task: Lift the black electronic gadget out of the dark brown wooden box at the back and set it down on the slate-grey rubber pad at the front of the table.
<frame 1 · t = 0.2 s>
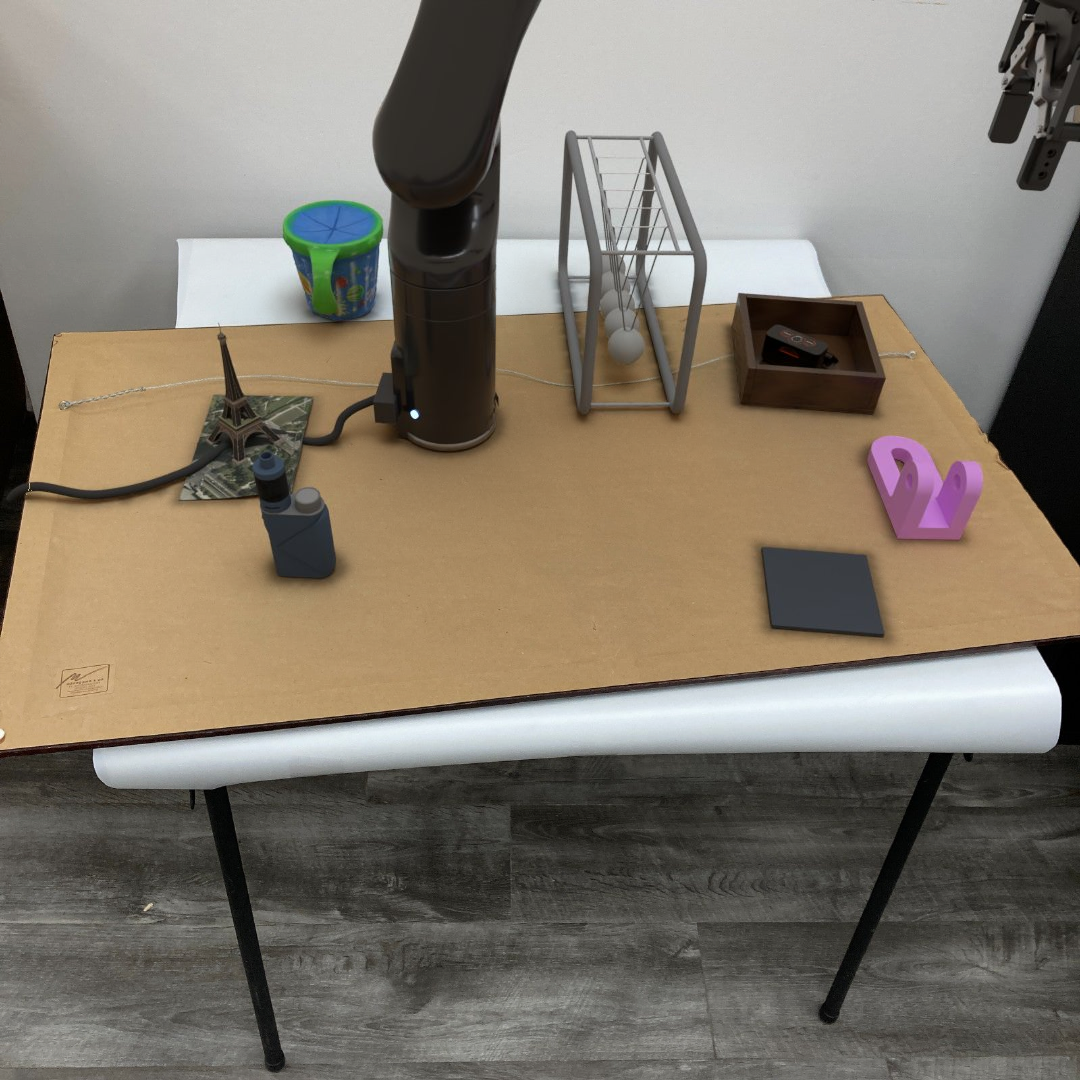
hand: (1015, 164, 75), 29 cm above the table, tool pointing down, fingers open, 8 cm apart
bracket: (907, 492, 92), on the table
vaping device: (305, 569, 82), on the table
wooden box: (798, 369, 105), on the table
black electronic gadget: (799, 366, 105), resting on wooden box
snack cup: (342, 307, 111), on the table
pad: (819, 591, 82), on the table
newton's cradle: (613, 341, 108), on the table
eiffel tower figurine: (250, 448, 93), on the table
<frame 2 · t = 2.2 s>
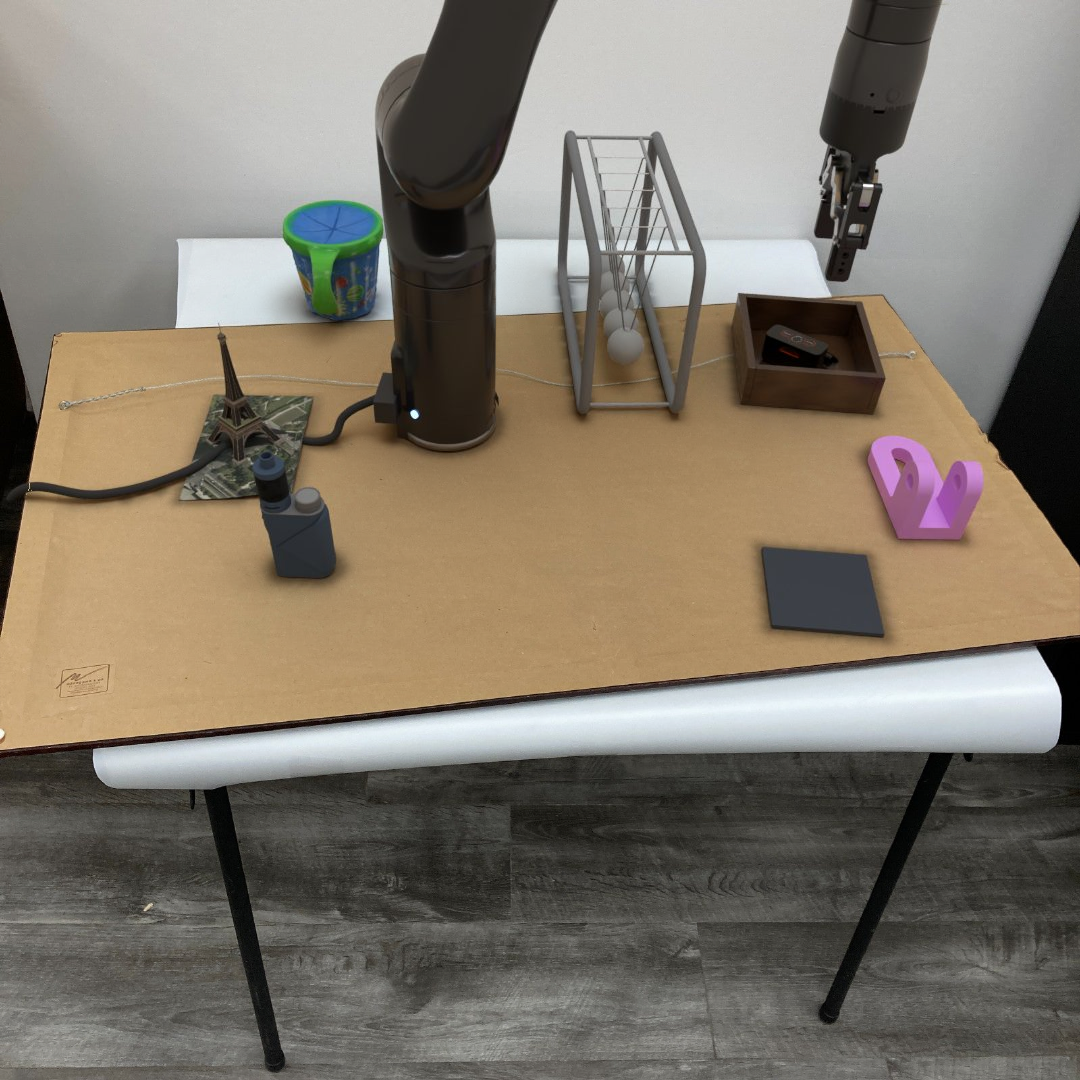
hand: (829, 257, 96), 13 cm above the table, tool pointing down, fingers open, 8 cm apart
nothing on the table moved.
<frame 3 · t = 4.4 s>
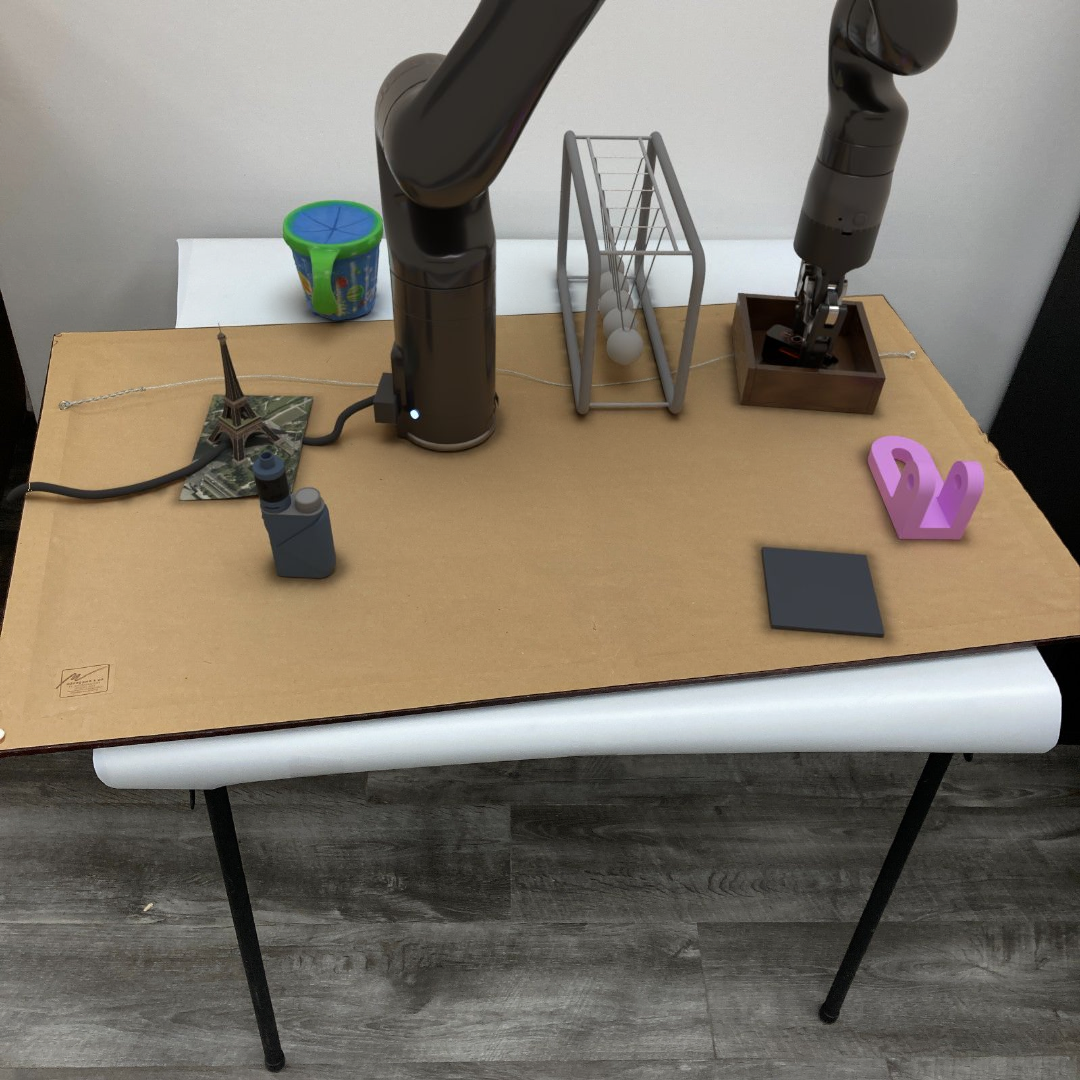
hand: (802, 360, 104), 1 cm above the table, tool pointing down, fingers closed on black electronic gadget, 5 cm apart
black electronic gadget: (799, 366, 105), resting on wooden box, touching gripper
everything else where it was.
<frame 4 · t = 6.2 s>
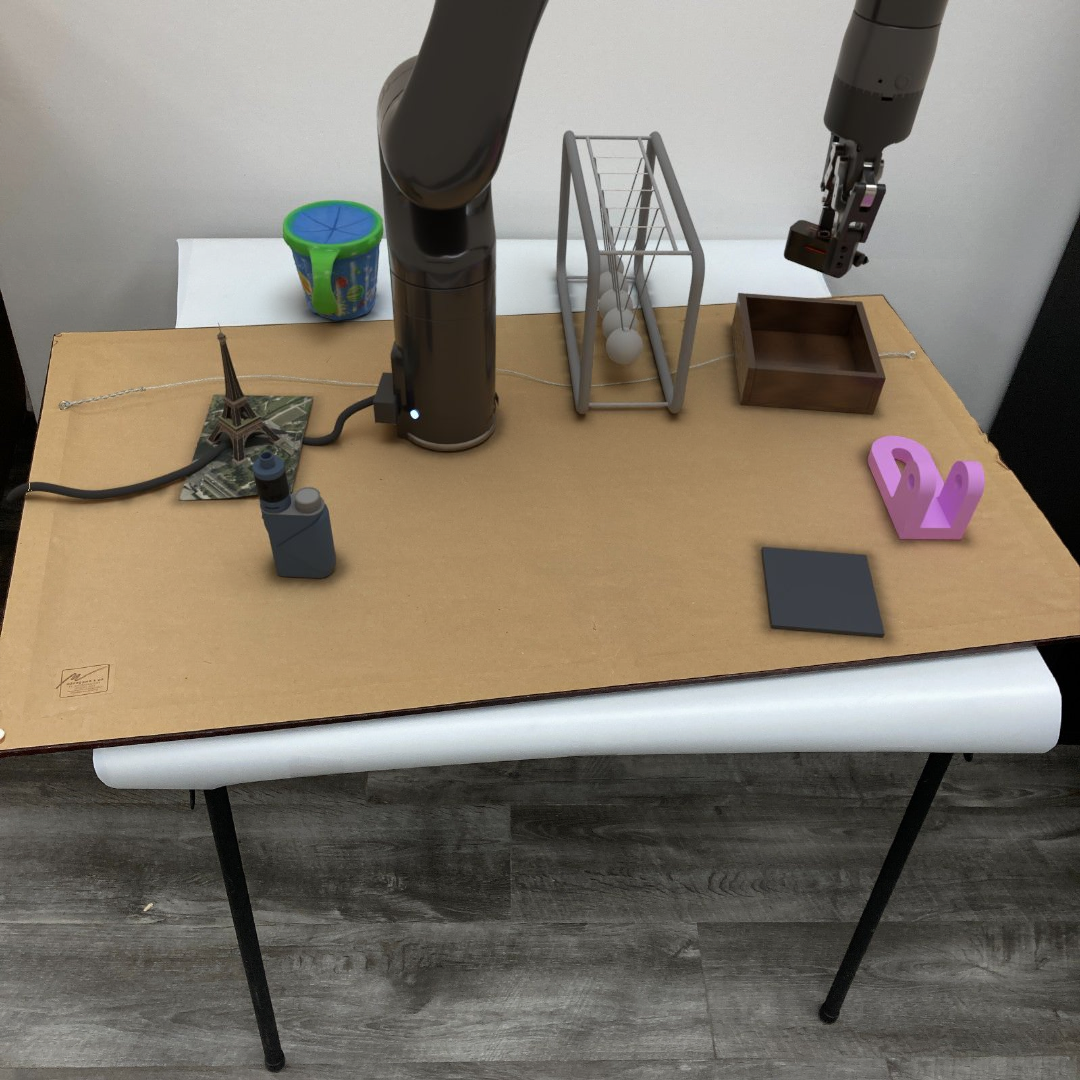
hand: (829, 258, 94), 14 cm above the table, tool pointing down, fingers closed on black electronic gadget, 5 cm apart
black electronic gadget: (825, 267, 95), point 13 cm above the table, touching gripper
everything else where it was.
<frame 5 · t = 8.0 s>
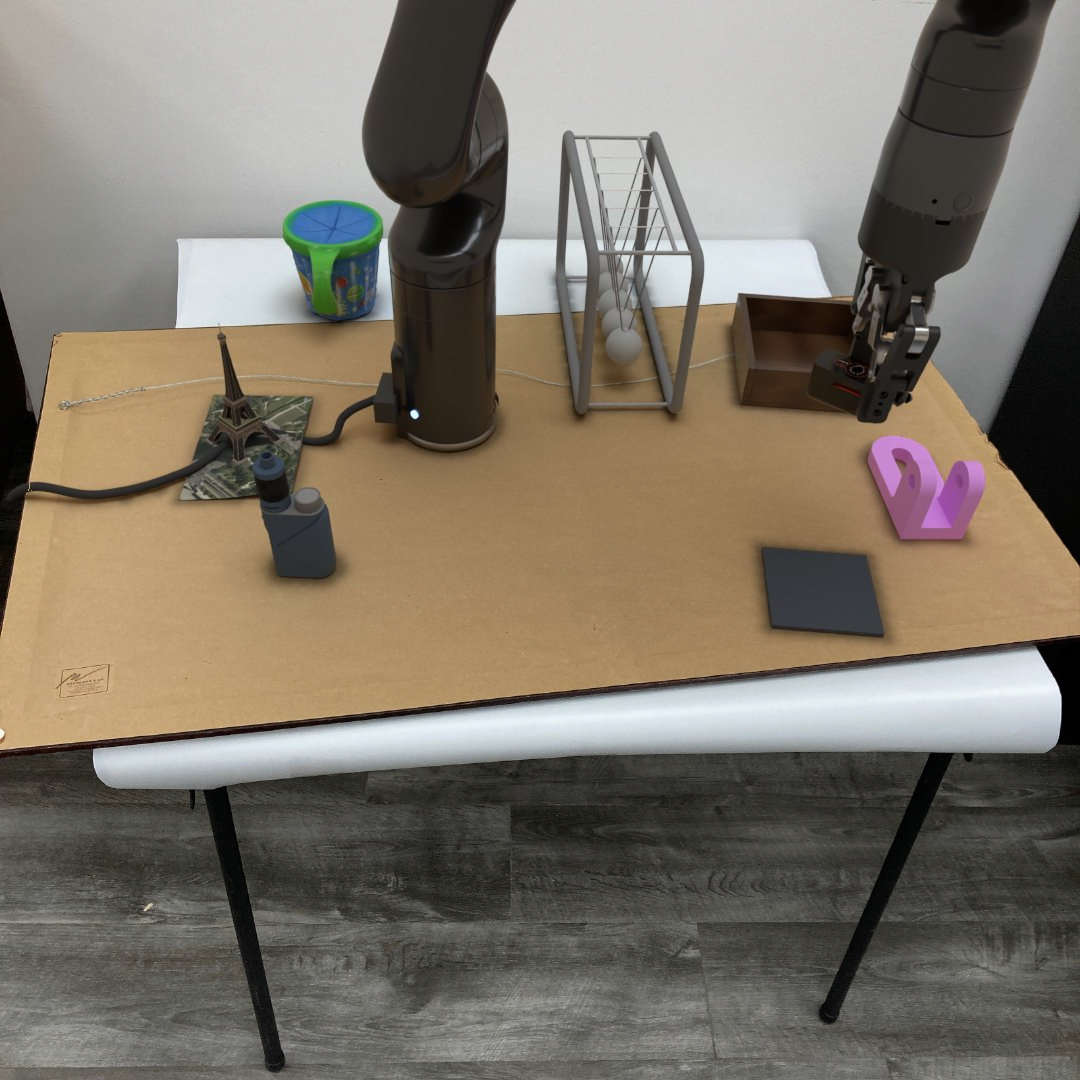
hand: (863, 397, 75), 15 cm above the table, tool pointing down, fingers closed on black electronic gadget, 5 cm apart
black electronic gadget: (858, 406, 77), point 14 cm above the table, touching gripper
everything else where it was.
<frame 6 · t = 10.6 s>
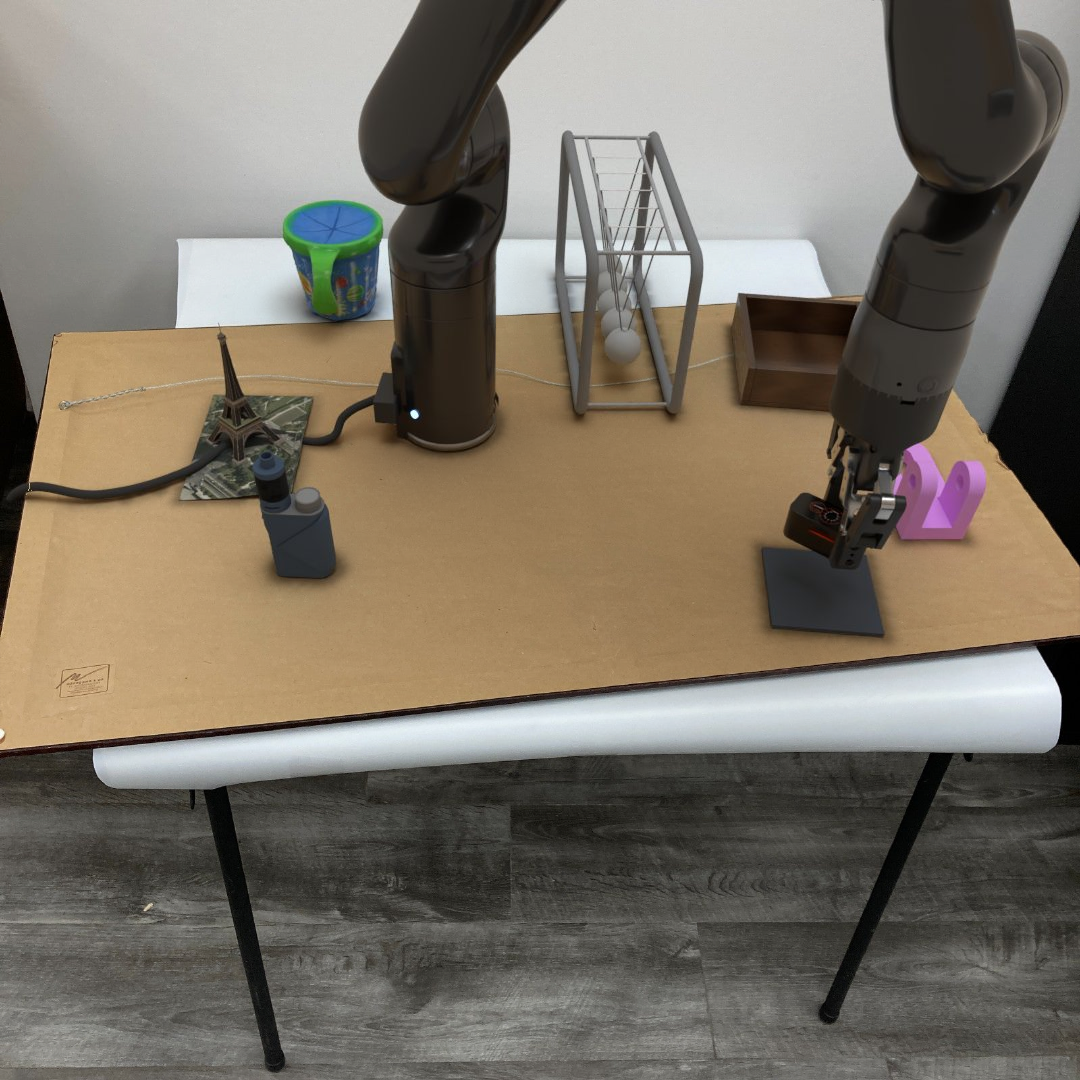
hand: (837, 540, 78), 6 cm above the table, tool pointing down, fingers closed on black electronic gadget, 5 cm apart
black electronic gadget: (834, 546, 79), point 5 cm above the table, touching gripper
everything else where it was.
when the fingers open (1 cm above the table, at t = 12.1 s): black electronic gadget stays where it is, resting on pad.
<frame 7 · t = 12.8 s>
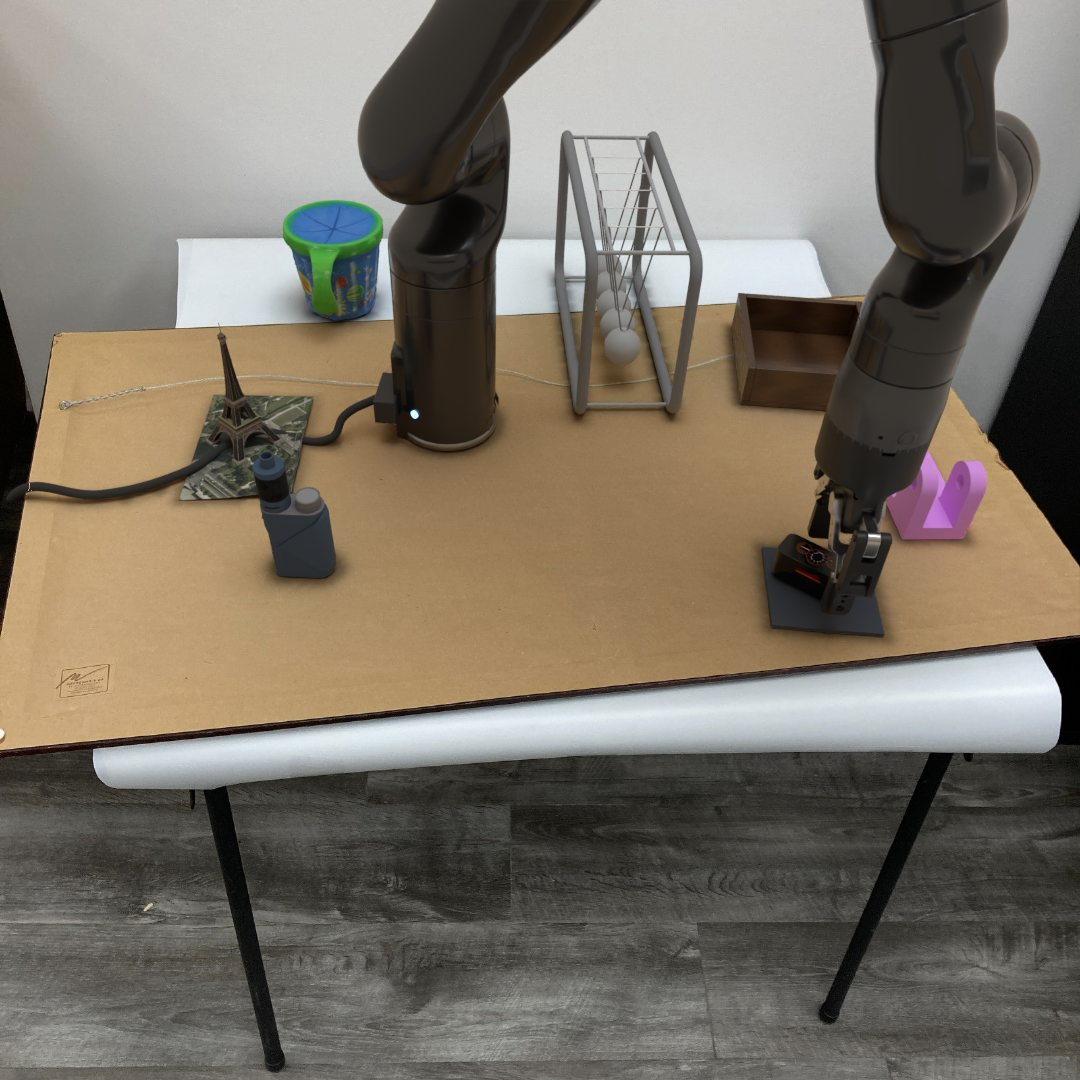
hand: (826, 572, 80), 2 cm above the table, tool pointing down, fingers open, 8 cm apart
black electronic gadget: (820, 585, 82), resting on pad
everything else where it was.
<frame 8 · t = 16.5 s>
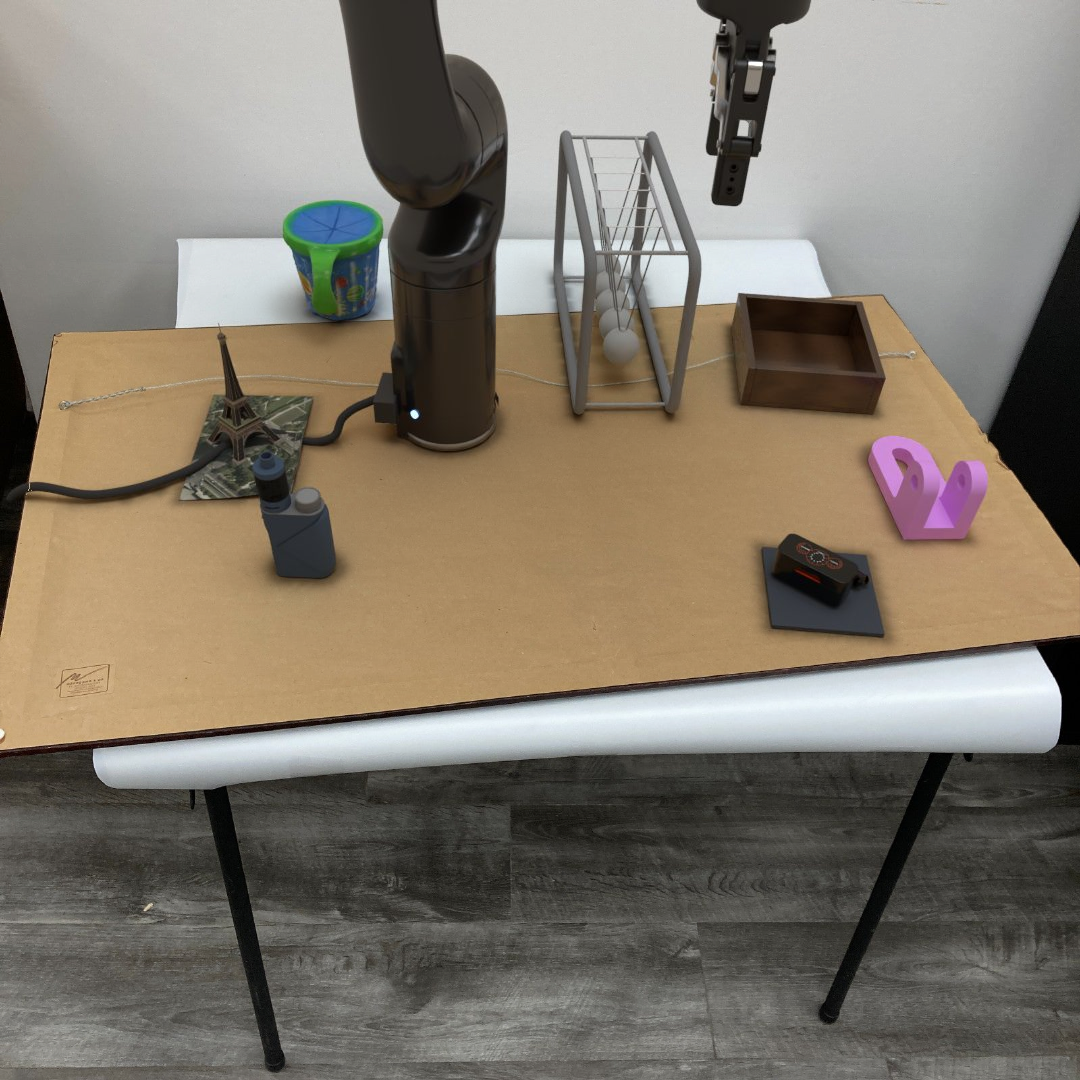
hand: (722, 178, 73), 28 cm above the table, tool pointing down, fingers open, 8 cm apart
nothing on the table moved.
at the end: black electronic gadget inside the target area on the pad (0.5 cm from its centre), point 0.2 cm above the pad's base; black electronic gadget touching pad; the gripper is holding nothing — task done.
